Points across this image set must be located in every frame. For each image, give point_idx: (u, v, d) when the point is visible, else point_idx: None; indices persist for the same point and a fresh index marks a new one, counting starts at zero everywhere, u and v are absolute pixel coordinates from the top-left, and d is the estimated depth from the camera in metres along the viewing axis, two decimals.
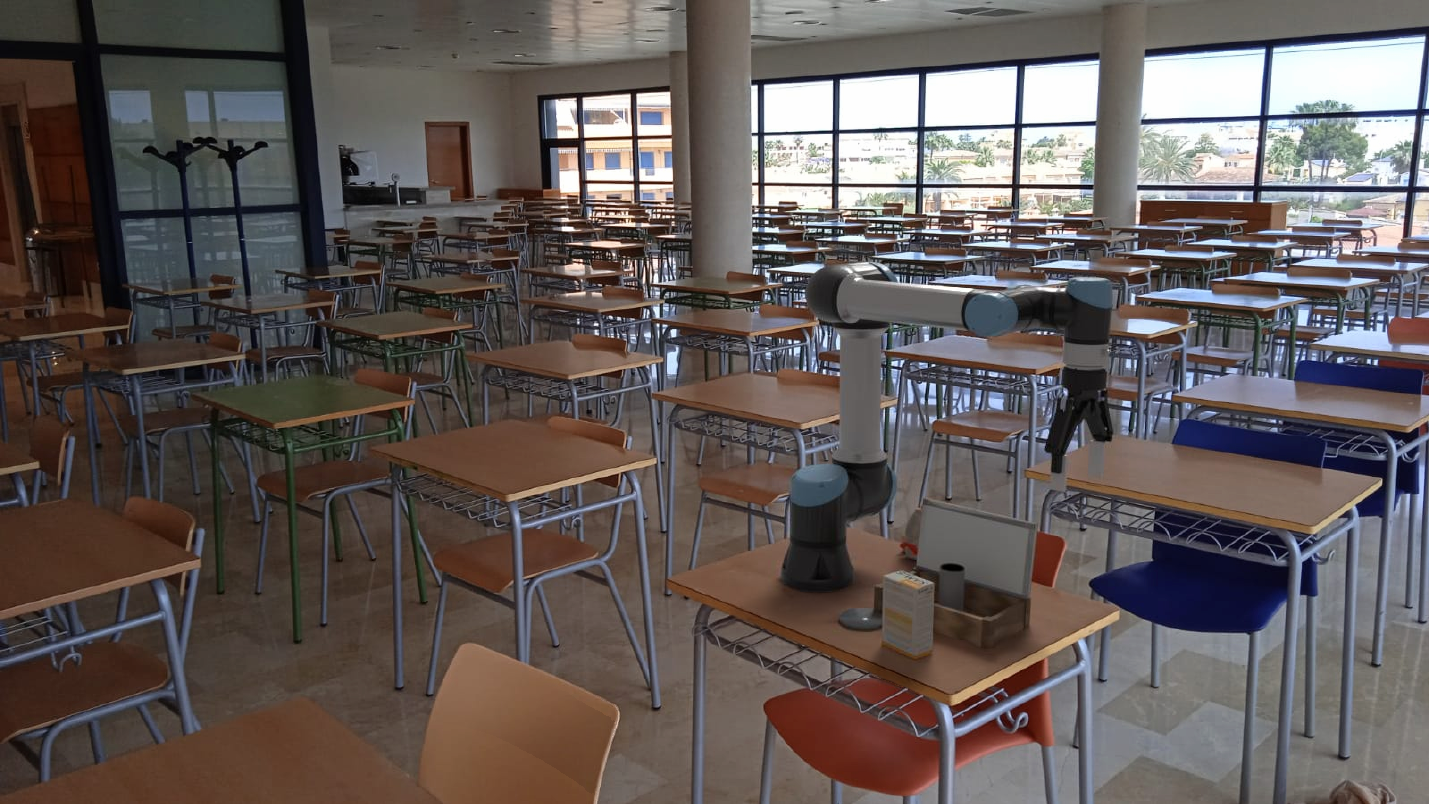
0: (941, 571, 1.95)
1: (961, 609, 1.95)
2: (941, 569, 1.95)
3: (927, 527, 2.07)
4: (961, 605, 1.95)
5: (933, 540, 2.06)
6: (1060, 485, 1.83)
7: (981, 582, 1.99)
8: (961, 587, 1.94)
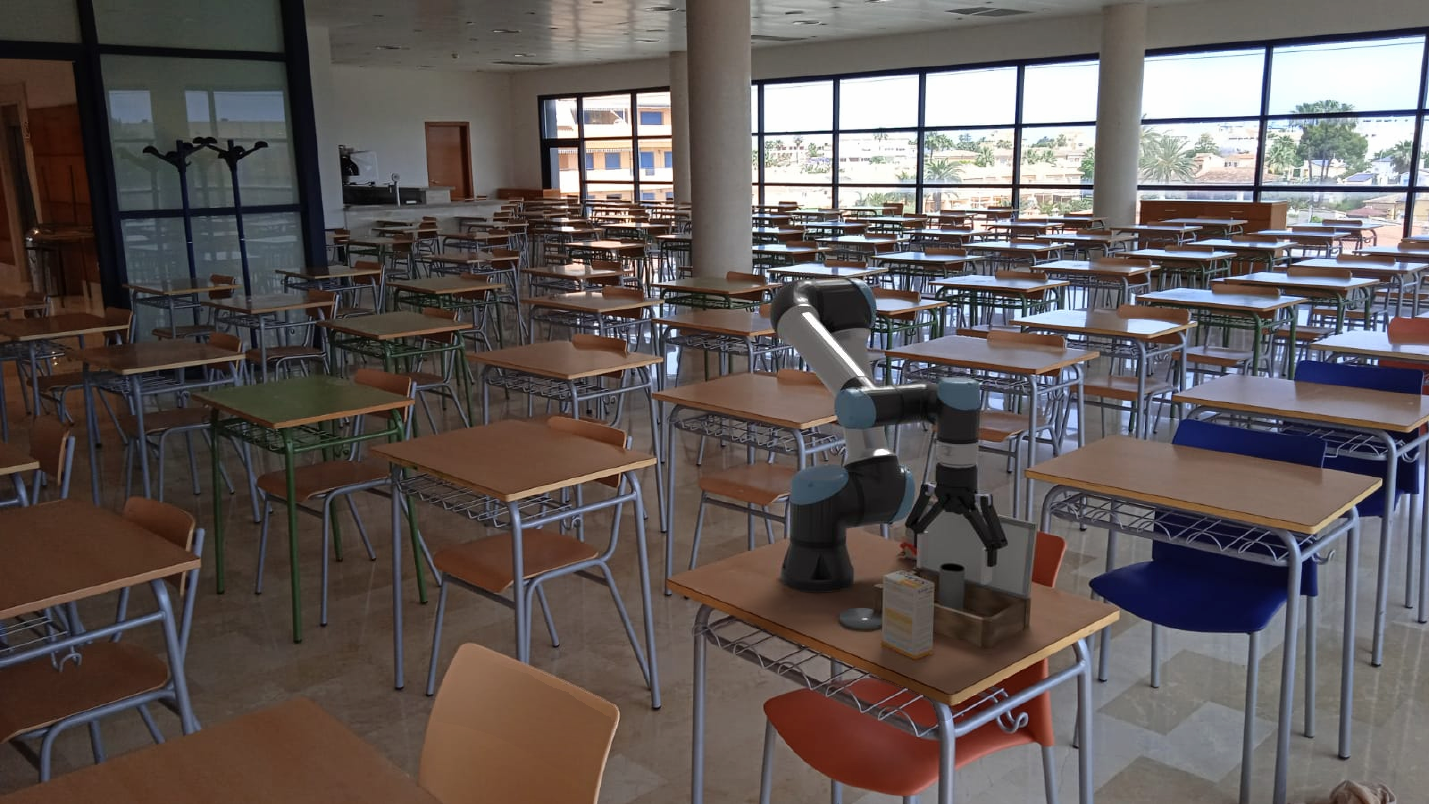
0: (941, 571, 1.95)
1: (961, 609, 1.95)
2: (941, 569, 1.95)
3: (927, 527, 2.07)
4: (961, 605, 1.95)
5: (933, 540, 2.06)
6: None
7: None
8: (961, 587, 1.94)
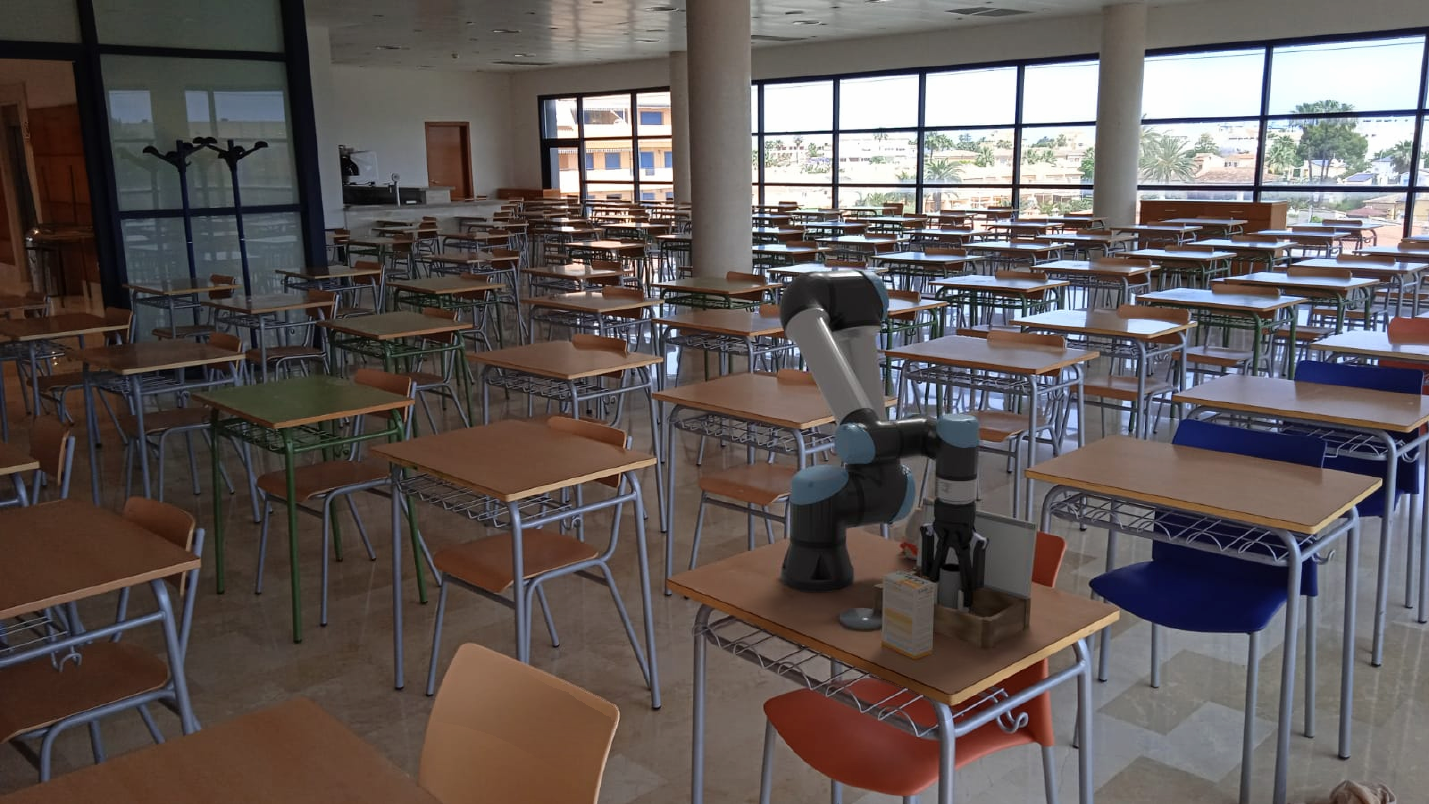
0: (941, 571, 1.95)
1: None
2: (941, 569, 1.95)
3: None
4: None
5: None
6: None
7: None
8: (961, 587, 1.94)
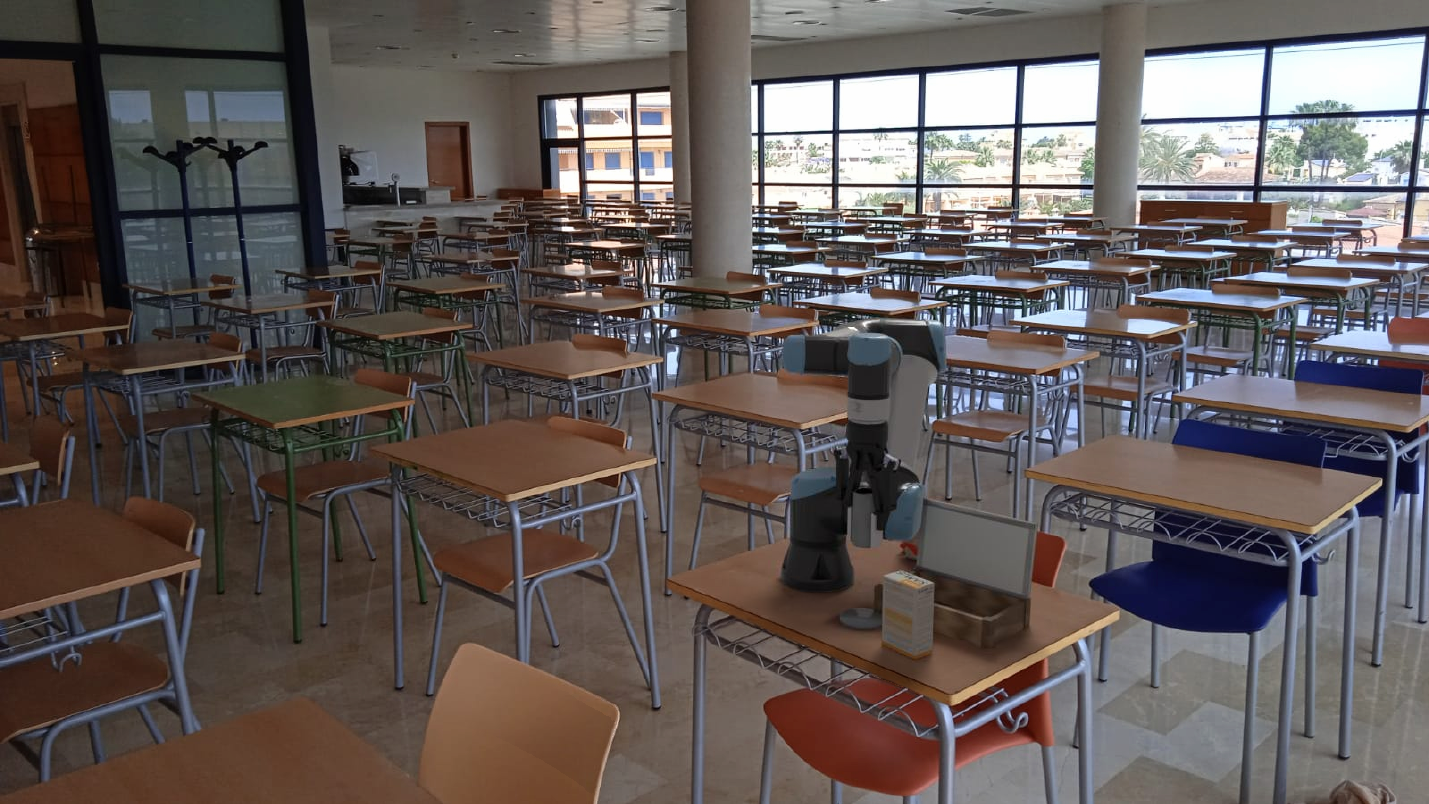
0: (854, 494, 1.91)
1: None
2: (854, 492, 1.91)
3: (927, 527, 2.07)
4: None
5: (933, 540, 2.06)
6: None
7: (981, 582, 1.99)
8: (874, 510, 1.91)
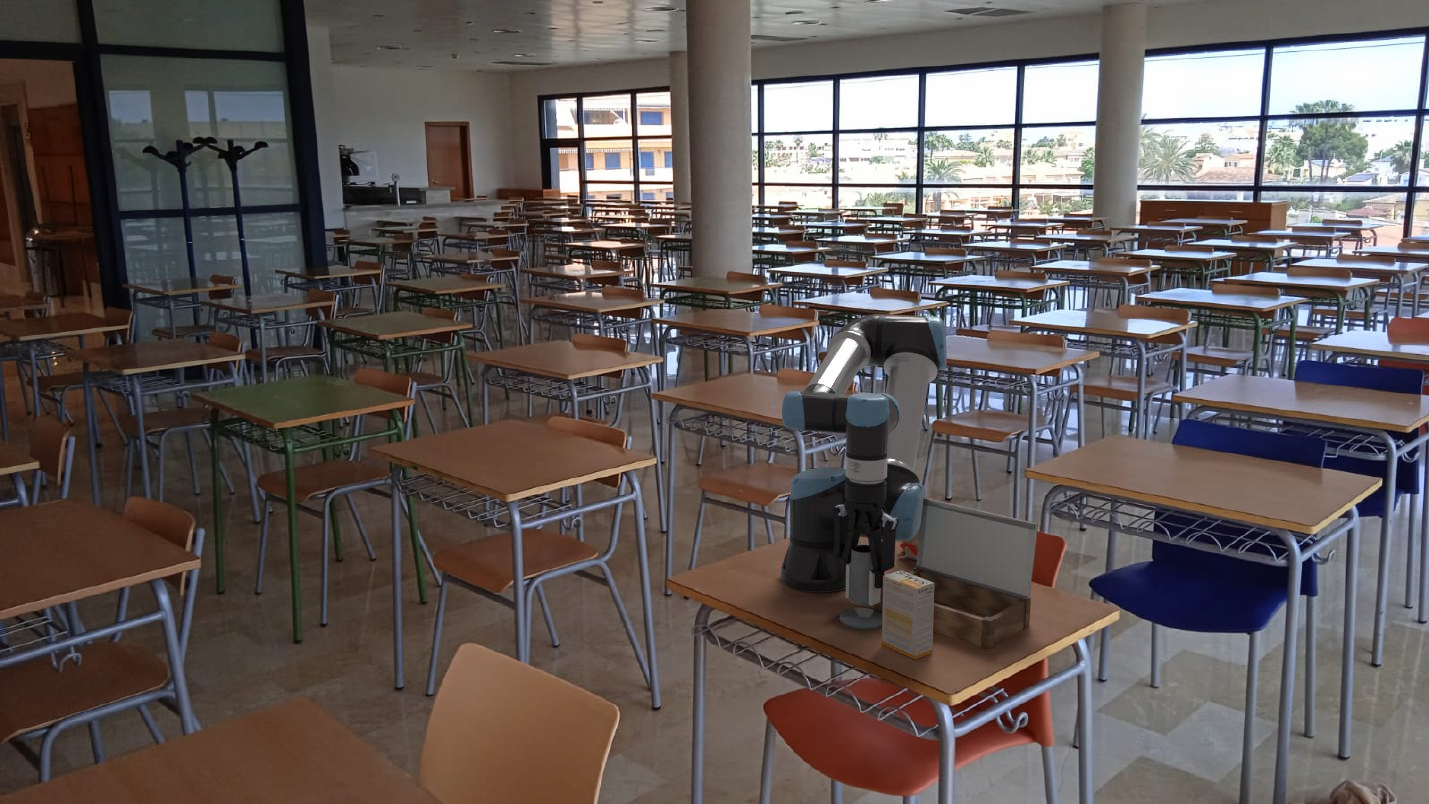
0: (852, 552, 1.93)
1: None
2: (852, 550, 1.93)
3: (927, 527, 2.07)
4: None
5: (933, 540, 2.06)
6: None
7: (981, 582, 1.99)
8: (872, 568, 1.93)
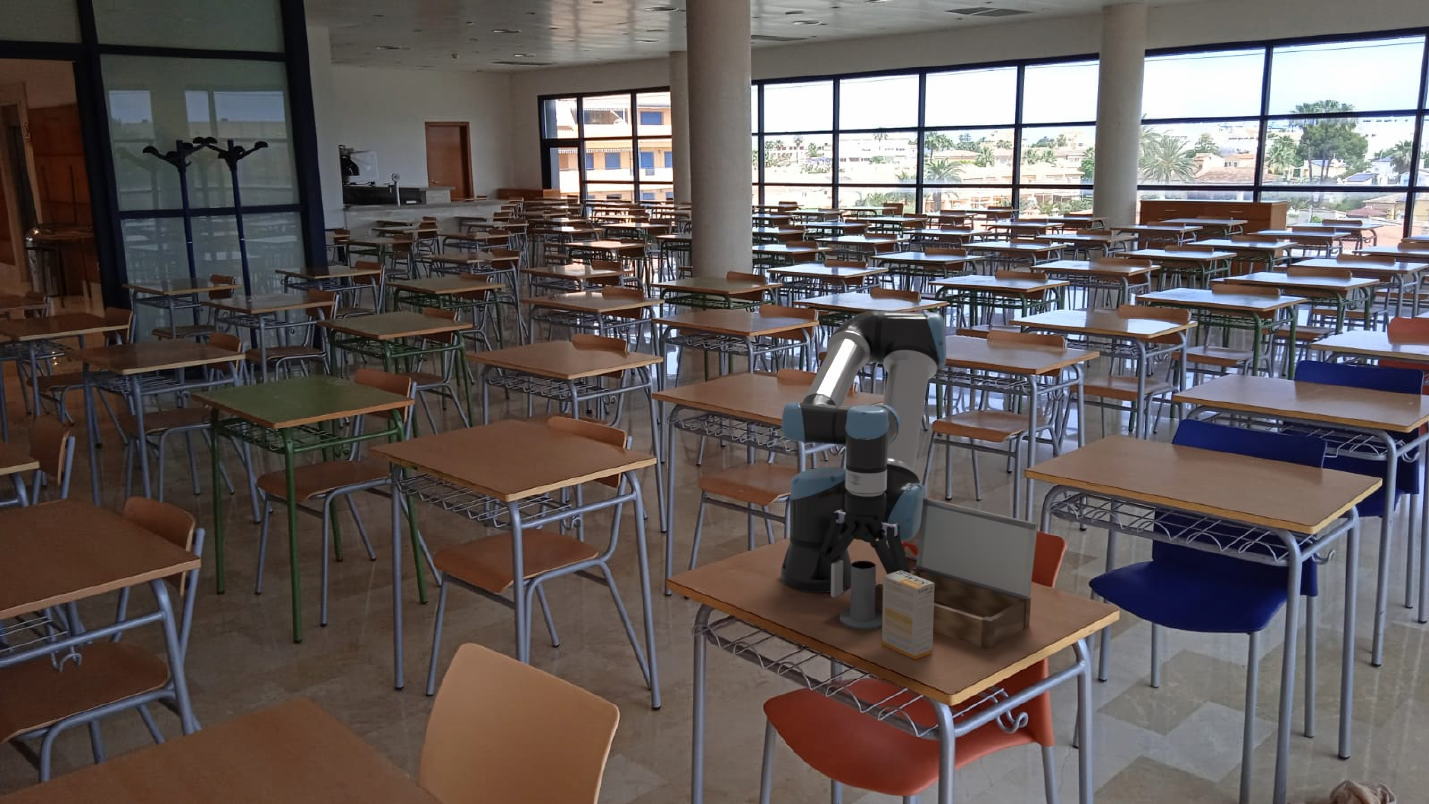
0: (852, 568, 1.94)
1: (872, 607, 1.95)
2: (852, 566, 1.94)
3: (927, 527, 2.07)
4: (872, 603, 1.94)
5: (933, 540, 2.06)
6: None
7: (981, 582, 1.99)
8: (872, 584, 1.93)
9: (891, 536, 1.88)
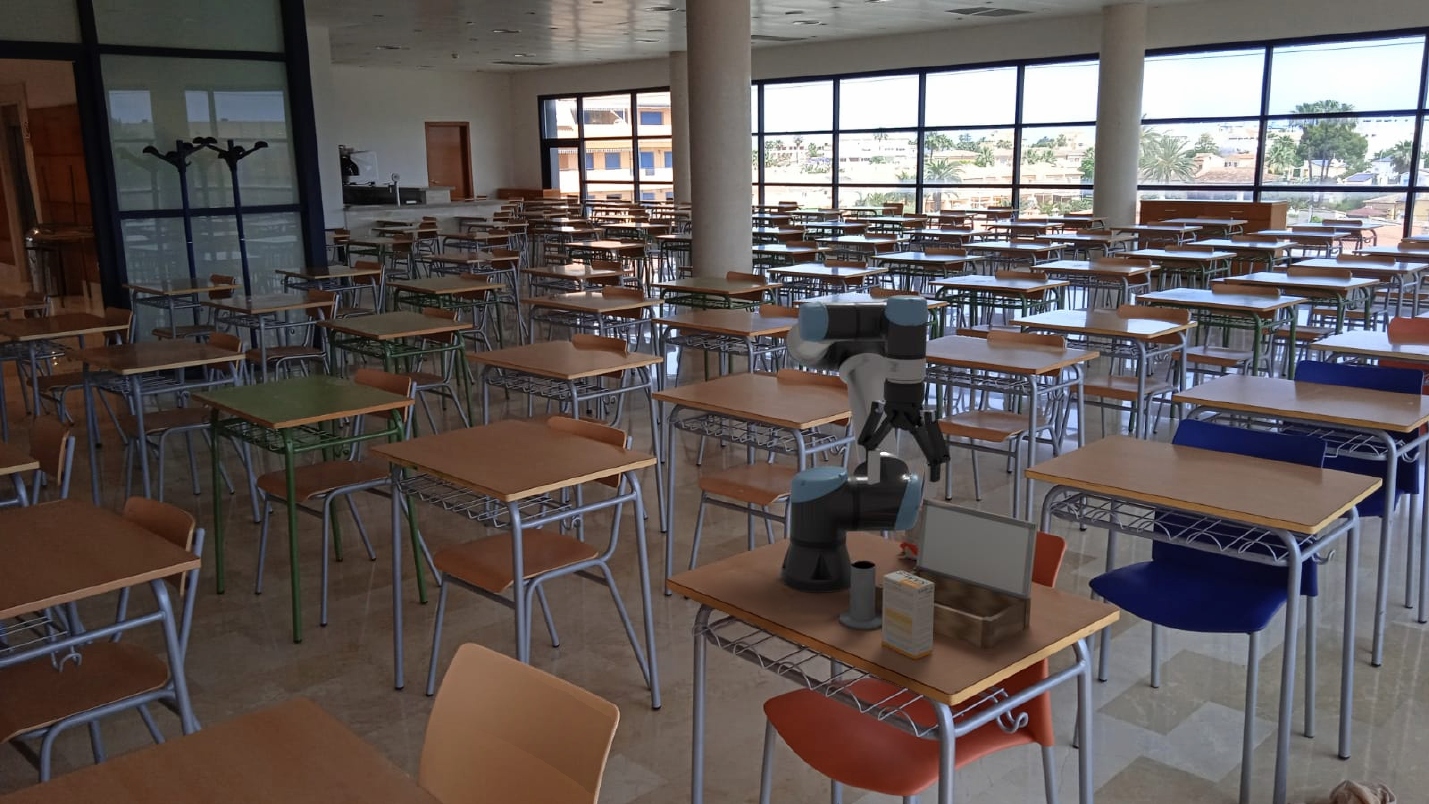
0: (852, 568, 1.94)
1: (872, 607, 1.95)
2: (852, 566, 1.94)
3: (927, 527, 2.07)
4: (872, 603, 1.94)
5: (933, 540, 2.06)
6: None
7: (981, 582, 1.99)
8: (872, 584, 1.93)
9: (929, 421, 1.90)
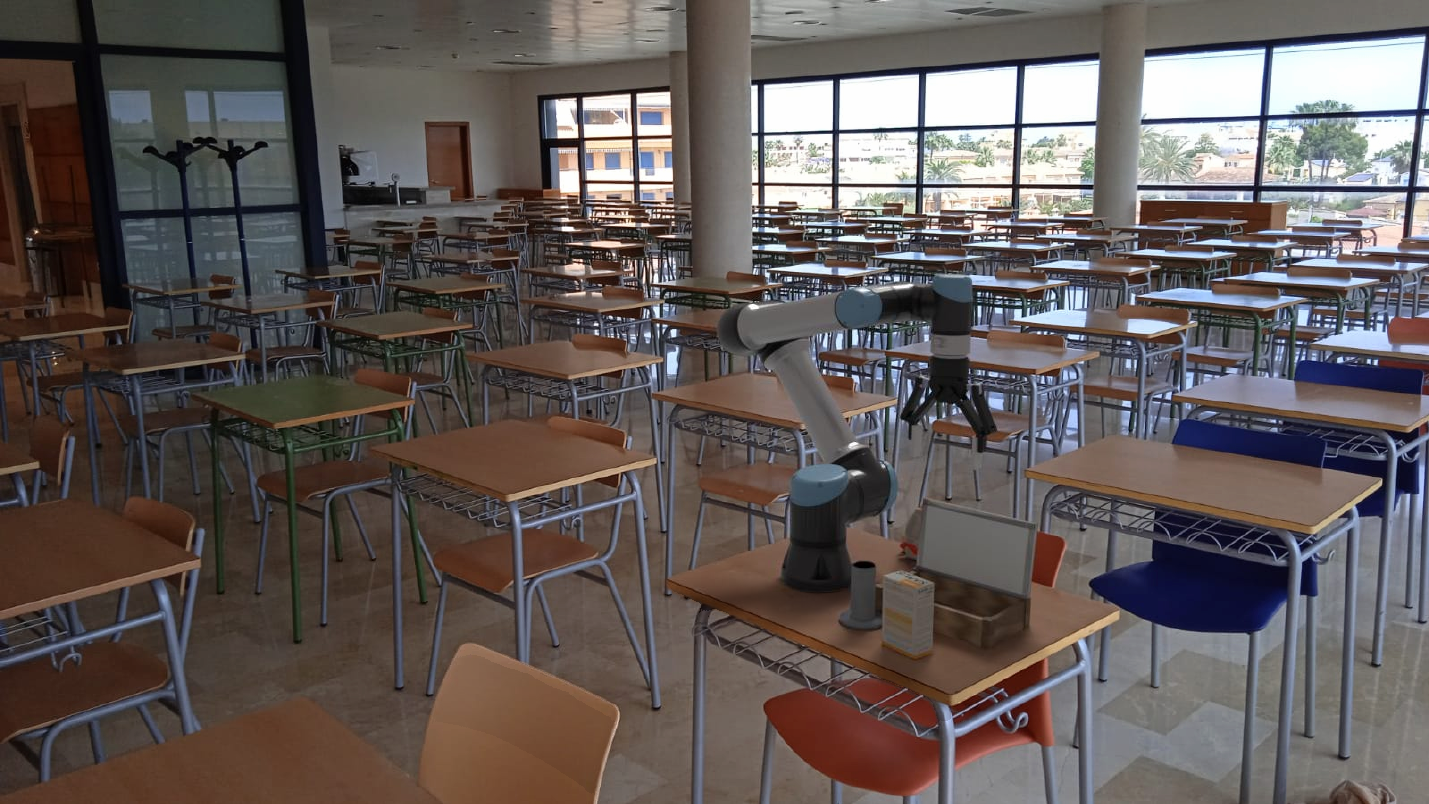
0: (852, 568, 1.94)
1: (872, 607, 1.95)
2: (852, 566, 1.94)
3: (927, 527, 2.07)
4: (872, 603, 1.94)
5: (933, 540, 2.06)
6: None
7: (981, 582, 1.99)
8: (872, 584, 1.93)
9: (976, 394, 1.98)
